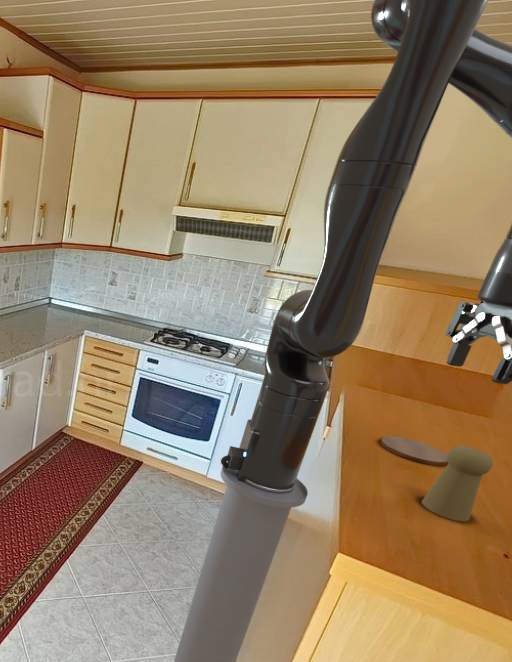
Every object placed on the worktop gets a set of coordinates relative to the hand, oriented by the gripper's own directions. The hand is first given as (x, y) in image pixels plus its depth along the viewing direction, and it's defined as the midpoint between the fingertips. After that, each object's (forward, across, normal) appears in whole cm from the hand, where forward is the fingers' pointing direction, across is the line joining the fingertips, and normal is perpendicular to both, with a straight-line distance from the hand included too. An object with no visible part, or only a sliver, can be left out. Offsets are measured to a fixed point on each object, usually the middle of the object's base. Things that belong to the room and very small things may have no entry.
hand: (475, 373), depth 79 cm
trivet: (+21, -16, +10) cm, 28 cm away
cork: (+22, +7, -2) cm, 23 cm away
